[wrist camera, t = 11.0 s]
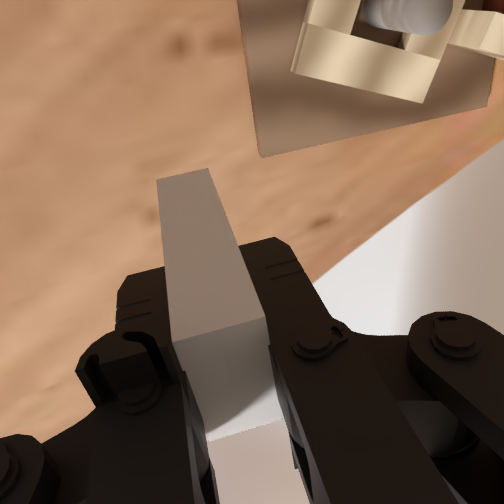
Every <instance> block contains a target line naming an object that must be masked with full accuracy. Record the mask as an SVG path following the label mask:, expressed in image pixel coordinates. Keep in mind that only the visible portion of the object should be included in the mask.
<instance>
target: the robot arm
mask: <svg viewBox="0 0 504 504" xmlns="http://www.w3.org/2000/svg"><path fill="white" fill-rule="evenodd" d="M156 181H157V192H158V202H159V212H160V223H161V233H162V243H163V254H164V264H165V266H163V267H160V268H156V269H152V270H148V271H144V272H140V273H136V274H132V275H128V276H127V277H126V279H125V280H124V282H123V284H122V285H121V287H120V288H119V290H118V292H117V306H116V308H117V311H116V324H115V331H112V332H110V333H107V334H105V335H104V336H102V337H101V338H100V339H98V340H97V341H95V342H94V343H92V344H91V345H90V347H89V348H88V349H87V350H86V351H85V352H84V354H83V355H82V356H81V357H80V359H79V362H78V364H77V367H76V369H75V372H76V374H77V376H78V377H79V379H80V381H81V383H82V384H83V386H84V388H85V389H86V391H87V393H88V395H89V396H90V398H91V400H92V401H93V403H94V405H95V406H96V408H95V409H94V410H93V411H92V412H91V413H90V414H89V415H88V416H86V417H85V418H84V419H82V420H81V421H79V422H78V423H76V424H75V425H73V426H72V427H70V428H68V429H66V430H65V431H63V432H61V433H59V434H58V435H56V436H54V437H52V438H51V439H49V440H47V441H45V442H44V443H42V444H41V443H40V442H39V441H37V440H36V439H35V438H34V437H33V436H29V435H21V434H15V435H11V436H7V437H3V438H0V504H220V502H219V496H218V490H217V484H216V478H215V471H214V469H213V466H212V463H211V461H210V458H209V454H208V448H207V442H206V437H207V439H208V441H212V440H216V439H219V438H222V437H225V436H229V435H232V434H235V433H239V432H242V431H245V430H249V429H252V428H255V427H259V426H262V425H265V424H268V423H272V422H275V421H278V420H282V419H283V416H284V419H285V422H286V425H287V428H288V431H289V437H290V443H291V448H292V455H293V460H294V466H295V469H297V468H298V469H299V472H300V475H301V478H302V481H303V484H304V487H305V490H306V493H307V496H308V499H309V502H310V504H504V335H503V334H501V333H500V332H498V331H497V330H495V329H494V328H492V327H491V326H489V325H487V324H486V323H484V322H482V321H480V320H478V319H476V318H474V317H472V316H469V315H466V314H461V313H457V312H451V311H449V312H434V313H430V314H427V315H424V316H421V317H420V318H419V319H418V320H417V321H415V322H414V323H413V324H412V325H411V328H410V331H409V334H408V335H394V336H391V335H390V336H375V335H365V334H360V333H356V332H353V331H351V330H350V329H349V328H348V327H347V326H346V325H345V324H344V323H342V322H340V321H338V320H336V319H334V318H332V316H331V315H330V314H329V312H328V310H327V309H326V307H325V305H324V304H323V302H322V300H321V298H320V297H319V295H318V293H317V292H316V290H315V288H314V287H313V285H312V283H311V281H310V280H309V278H308V276H307V275H306V273H304V269H303V268H302V266H301V264H300V263H299V261H298V260H297V258H296V256H295V254H294V252H293V251H292V249H291V247H290V246H289V245H287V244H286V243H284V242H283V241H281V240H279V239H278V238H276V237H272V238H268V239H264V240H260V241H256V242H252V243H248V244H244V245H240V246H238V244H237V242H236V239H235V237H234V234H233V232H232V229H231V226H230V224H229V221H228V219H227V216H226V213H225V211H224V208H223V206H222V203H221V201H220V198H219V195H218V193H217V190H216V188H215V185H214V182H213V180H212V177H211V175H210V172H209V170H208V168H205V169H201V170H197V171H192V172H188V173H184V174H179V175H175V176H171V177H166V178H162V179H158V180H156ZM205 434H206V435H205Z"/></svg>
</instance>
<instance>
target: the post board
mask: <svg viewBox="0 0 504 504" xmlns="http://www.w3.org/2000/svg"><path fill="white" fill-rule="evenodd" d="M308 1H309V0H237V4H238V12H239V19H240V26H241V33H242V40H243V47H244V54H245V61H246V68H247V75H248V82H249V89H250V96H251V103H252V110H253V117H254V124H255V131H256V138H257V145H258V152H259V155H260V156H261V157H262V158H264V157H269V156H273V155H278V154H282V153H286V152H291V151H295V150H299V149H304V148H308V147H313V146H317V145H321V144H326V143H330V142H334V141H339V140H343V139H348V138H352V137H356V136H361V135H365V134H369V133H374V132H378V131H383V130H387V129H391V128H396V127H400V126H404V125H409V124H413V123H418V122H422V121H426V120H431V119H435V118H439V117H444V116H448V115H453V114H457V113H461V112H466V111H470V110H474V109H479V108H483V107H487V103H488V97H489V91H490V85H491V79H492V74H493V68H494V62H495V58H494V57H490V56H487V55H483V54H480V53H477V52H473V51H470V50H466V49H463V48H460V47H456V46H453V45H450V44H447V46H446V48H445V51H444V53H443V55H442V58H441V60H440V63H439V65H438V67H437V70H436V72H435V75H434V77H433V79H432V82H431V84H430V87H429V89H428V92H427V94H426V96H425V99H424V101H423V104H422V103H418V102H414V101H409V100H405V99H401V98H397V97H392V96H388V95H384V94H380V93H375V92H371V91H367V90H363V89H358V88H354V87H350V86H346V85H341V84H337V83H333V82H329V81H324V80H320V79H316V78H311V77H307V76H303V75H299V74H295V73H293V72H291V71H290V70H291V66H292V63H293V59H294V55H295V51H296V47H297V43H298V39H299V36H300V32H301V28H302V24H303V20H304V16H305V12H306V8H307V5H308ZM452 8H453V0H361V1H360V5H359V8H358V11H357V14H356V18H355V21H354V24H353V27H352V30H351V34H350V35H352V36H356V37H359V38H363V39H366V40H370V41H374V42H377V43H381V44H384V45H388V46H392V47H395V48H398V45H399V42H400V40H401V37H402V34H403V32H406V33H412V34H418V35H424V36H428V35H432V34H435V33H436V32H438V31H439V30H441V29H442V28H443V27H444V25H445V24H446V23H447V21H448V19H449V17H450V15H451V12H452ZM462 9H463V10H478V11H493V12H498V13H501V14H504V0H465V3H464V5H463V7H462Z"/></svg>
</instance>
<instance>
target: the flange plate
mask: <svg viewBox="0 0 504 504" xmlns="http://www.w3.org/2000/svg"><path fill="white" fill-rule="evenodd" d="M360 1H361V0H309V1H308V5H307V8H306V12H305V16H304V20H303V24H302V28H301V32H300V36H299V39H298V43H297V47H296V51H295V55H294V59H293V63H292V66H291V70H290V71H291V72H293V73H295V74H299V75H303V76H307V77H311V78H316V79H320V80H324V81H329V82H333V83H337V84H341V85H346V86H350V87H354V88H358V89H363V90H367V91H371V92H375V93H380V94H384V95H388V96H392V97H397V98H401V99H405V100H409V101H414V102H418V103H422V104H423V101H424V99H425V96H426V94H427V92H428V89H429V87H430V84H431V82H432V79H433V77H434V75H435V72H436V70H437V67H438V65H439V63H440V60H441V58H442V55H443V53H444V51H445V48H446V46H447V44H450V45H453V46H456V47H460V48H463V49H466V50H470V51H473V52H477V53H480V54H483V55H487V56H490V57H494V58H497V59H500V60H504V14H501V13H498V12H493V11H478V10H463V9H462V7H463V5H464V3H465V0H453V8H452V12H451V15H450V17H449V19H448V21H447V23H446V24H445V25H444V27H443V28H442V29H441V30H439V31H438V32H436V33H435V34H432V35H428V36H424V35H418V34H412V33H406V32H403V34H402V37H401V40H400V42H399V45H398V48H395V47H392V46H388V45H384V44H381V43H377V42H374V41H370V40H366V39H363V38H359V37H356V36H352V35H350V34H351V30H352V27H353V24H354V21H355V18H356V14H357V11H358V8H359V5H360Z"/></svg>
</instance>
